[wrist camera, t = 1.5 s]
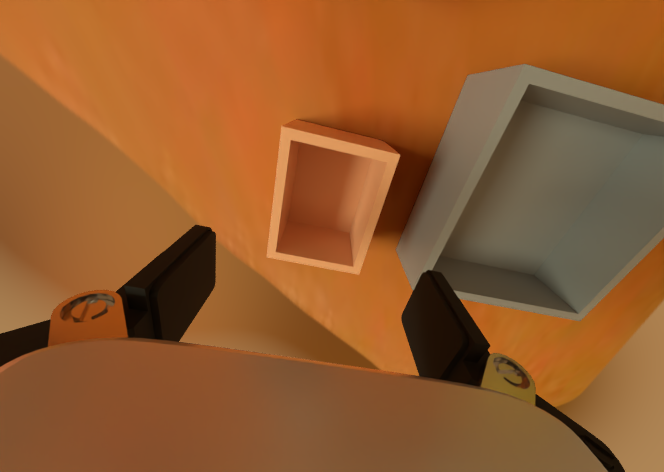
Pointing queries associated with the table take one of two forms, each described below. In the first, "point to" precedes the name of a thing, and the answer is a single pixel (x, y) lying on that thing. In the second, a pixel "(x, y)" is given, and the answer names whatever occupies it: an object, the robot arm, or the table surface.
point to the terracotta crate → (328, 195)
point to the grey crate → (539, 193)
